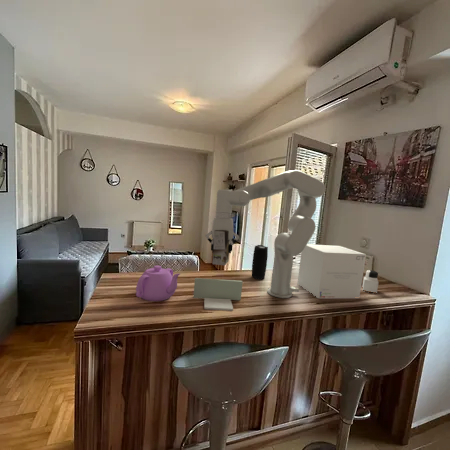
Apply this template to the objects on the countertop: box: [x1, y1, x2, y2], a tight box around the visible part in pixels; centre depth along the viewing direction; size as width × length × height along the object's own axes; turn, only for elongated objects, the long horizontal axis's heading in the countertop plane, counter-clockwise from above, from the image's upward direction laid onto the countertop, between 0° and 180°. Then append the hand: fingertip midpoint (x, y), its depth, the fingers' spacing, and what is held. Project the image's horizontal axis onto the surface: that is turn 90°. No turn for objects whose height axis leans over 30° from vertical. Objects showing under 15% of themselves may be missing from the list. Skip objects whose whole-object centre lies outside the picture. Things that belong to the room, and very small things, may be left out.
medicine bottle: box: [361, 269, 379, 294], centre depth 154 cm, size 7×7×12 cm
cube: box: [296, 243, 367, 299], centre depth 147 cm, size 25×21×24 cm
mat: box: [203, 298, 234, 311], centre depth 116 cm, size 12×10×1 cm
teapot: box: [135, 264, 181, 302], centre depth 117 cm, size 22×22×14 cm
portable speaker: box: [251, 244, 269, 281], centre depth 160 cm, size 9×9×20 cm
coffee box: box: [212, 230, 230, 266], centre depth 127 cm, size 9×6×16 cm
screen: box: [192, 277, 244, 301], centre depth 122 cm, size 22×1×9 cm, turn 95°
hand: (221, 252), depth 127 cm, fingers closed on coffee box, 7 cm apart
